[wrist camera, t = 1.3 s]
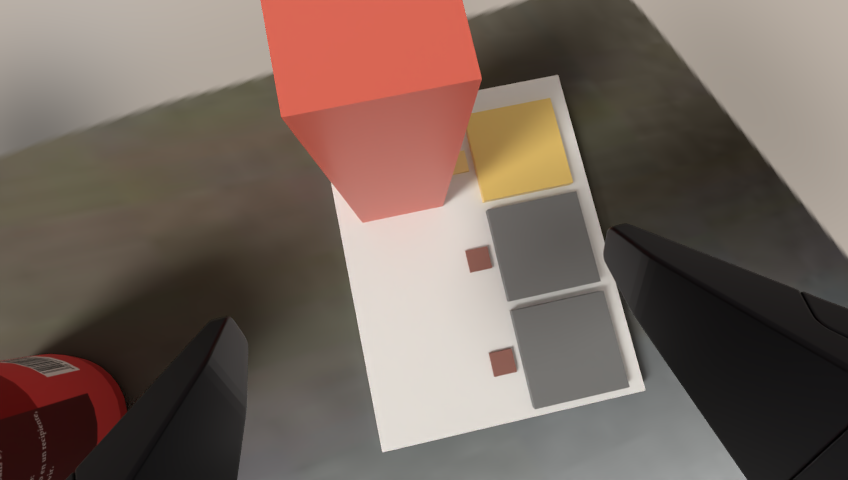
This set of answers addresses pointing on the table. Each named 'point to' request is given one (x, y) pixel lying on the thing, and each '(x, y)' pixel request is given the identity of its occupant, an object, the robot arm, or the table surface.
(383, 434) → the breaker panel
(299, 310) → the table surface
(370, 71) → the tall red square pillar
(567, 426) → the table surface
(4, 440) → the canned food
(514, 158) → the plate
